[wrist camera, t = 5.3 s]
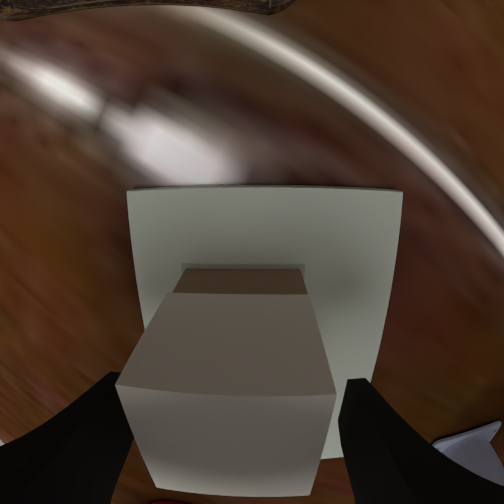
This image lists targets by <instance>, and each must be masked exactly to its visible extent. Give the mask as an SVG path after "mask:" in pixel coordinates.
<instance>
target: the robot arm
mask: <svg viewBox="0 0 504 504" xmlns="http://www.w3.org/2000/svg"><path fill="white" fill-rule="evenodd" d="M120 374H121V373H119V372H112V371H111V372H109V373H108V374H107V375H106V376H104V377H103V378H102V379H101V380H99V381H98V382H97V383H96V384H95V385H93V386H92V387H91V388H90V389H89V390H87V391H86V392H85V393H84V394H83V395H81V396H80V397H79V398H78V399H76V400H75V401H74V402H73V403H71V404H70V405H69V406H68V407H66V408H65V409H63V410H62V411H61V412H59V413H58V414H57V415H55V416H54V417H52V418H51V419H50V420H48V421H47V422H45V423H44V424H42V425H41V426H39V427H37V428H36V429H34V430H32V431H31V432H29V433H27V434H25V435H24V436H22V437H20V438H18V439H15V440H13V441H11V442H9V443H7V444H4V445H2V446H0V504H110V503H111V498H112V495H113V492H114V489H115V486H116V483H117V480H118V478H119V475H120V473H121V470H122V467H123V465H124V462H125V460H126V457H127V455H128V452H129V450H130V447H131V444H132V442H133V439H134V435H133V433H132V430H131V428H130V425H129V423H128V420H127V417H126V415H125V412H124V409H123V407H122V404H121V401H120V398H119V395H118V392H117V389H116V386H115V384H116V382H117V380H118V378H119V376H120ZM500 426H501V422H500V421H496V422H494V423H491V424H488V425H485V426H483V427H480V428H477V429H474V430H471V431H468V432H464V433H461V434H458V435H454V436H451V437H447V438H444V439H440V440H437V441H436V442H434V443H433V445H431V444H430V443H428V442H427V441H426V440H425V439H424V438H423V437H421V436H420V435H419V434H418V433H417V432H416V431H415V430H414V429H413V428H412V427H411V426H410V425H409V424H408V423H407V422H406V421H405V420H404V419H403V418H402V417H401V416H400V415H399V414H398V413H397V412H396V411H395V410H394V409H393V408H392V407H391V406H390V405H389V404H388V403H387V401H386V400H385V399H384V398H383V397H382V396H381V395H380V394H379V393H378V391H377V390H376V389H375V388H374V387H373V386H372V385H371V383H370V382H369V381H368V380H367V379H366V378H356V379H347V383H346V388H345V392H344V396H343V401H342V405H341V409H340V413H339V417H338V427H339V435H340V442H341V448H342V452H343V456H344V459H345V463H346V467H347V471H348V475H349V478H350V482H351V486H352V490H353V494H354V498H355V503H356V504H504V467H503V465H502V464H501V462H500V460H499V458H498V456H497V455H496V453H495V451H494V449H493V447H492V446H491V444H490V441H491V439H492V438H493V437H494V435H495V434H496V432H497V431H498V429H499V427H500Z"/></svg>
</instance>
